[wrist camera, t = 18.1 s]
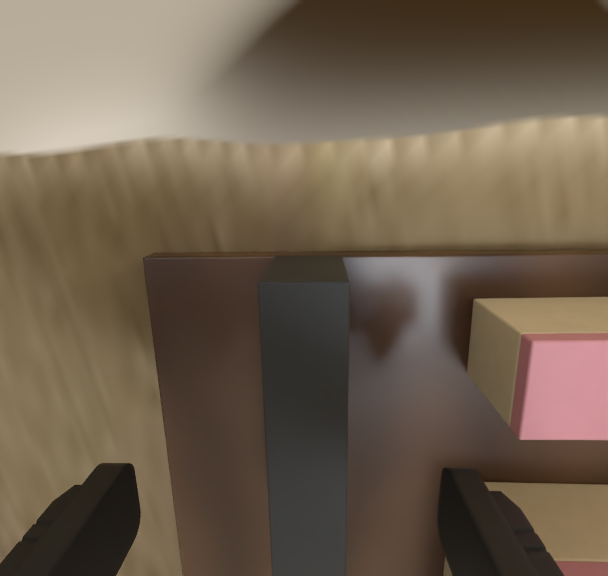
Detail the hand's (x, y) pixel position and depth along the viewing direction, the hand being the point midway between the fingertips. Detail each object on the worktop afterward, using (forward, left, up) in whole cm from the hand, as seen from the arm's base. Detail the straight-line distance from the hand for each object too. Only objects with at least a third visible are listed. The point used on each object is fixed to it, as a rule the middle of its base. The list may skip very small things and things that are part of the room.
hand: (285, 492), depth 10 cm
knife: (0, -4, -5) cm, 7 cm away
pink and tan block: (+10, +2, -5) cm, 12 cm away
